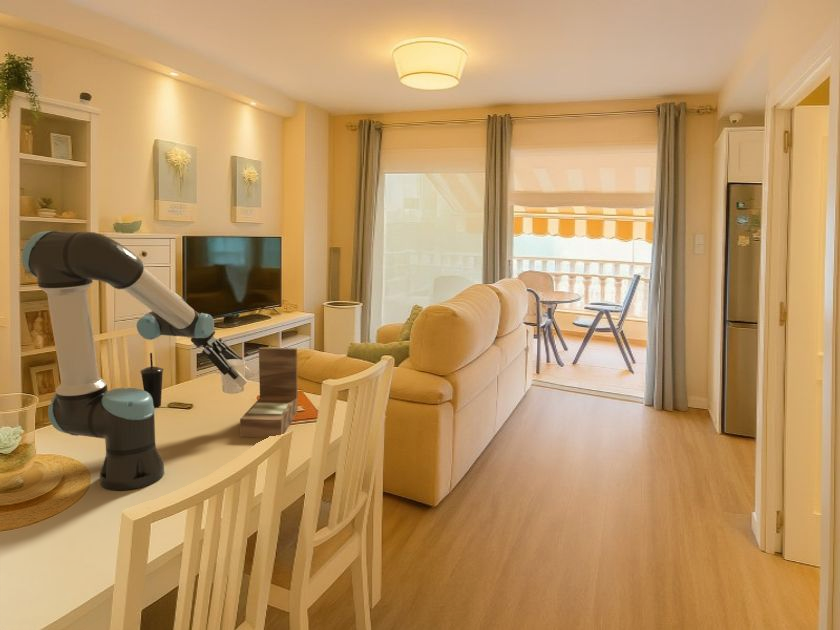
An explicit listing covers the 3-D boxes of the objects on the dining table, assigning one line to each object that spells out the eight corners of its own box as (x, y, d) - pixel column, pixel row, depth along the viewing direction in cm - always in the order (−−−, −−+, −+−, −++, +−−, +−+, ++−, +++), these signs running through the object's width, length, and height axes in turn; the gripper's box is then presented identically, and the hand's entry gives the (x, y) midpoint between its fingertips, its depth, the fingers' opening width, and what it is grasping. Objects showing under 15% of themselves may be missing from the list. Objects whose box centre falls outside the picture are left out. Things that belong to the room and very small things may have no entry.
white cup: (238, 395, 182) (238, 365, 180) (216, 393, 183) (215, 363, 181) (249, 388, 189) (249, 360, 188) (228, 386, 191) (228, 358, 189)
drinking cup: (169, 405, 206) (167, 352, 203) (150, 410, 200) (147, 356, 197) (157, 401, 210) (154, 349, 207) (137, 406, 204) (134, 353, 201)
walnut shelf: (281, 438, 177) (280, 365, 174) (240, 437, 177) (238, 363, 174) (297, 413, 201) (296, 348, 197) (261, 412, 201) (260, 347, 197)
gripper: (201, 333, 193) (248, 379, 196) (178, 346, 173) (230, 397, 176) (217, 318, 192) (263, 365, 196) (195, 330, 172) (247, 382, 175)
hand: (248, 380), depth 186 cm, fingers closed on white cup, 7 cm apart
